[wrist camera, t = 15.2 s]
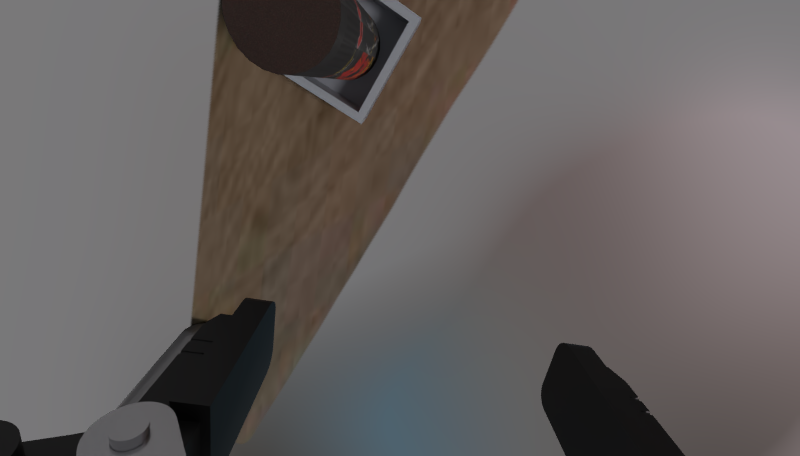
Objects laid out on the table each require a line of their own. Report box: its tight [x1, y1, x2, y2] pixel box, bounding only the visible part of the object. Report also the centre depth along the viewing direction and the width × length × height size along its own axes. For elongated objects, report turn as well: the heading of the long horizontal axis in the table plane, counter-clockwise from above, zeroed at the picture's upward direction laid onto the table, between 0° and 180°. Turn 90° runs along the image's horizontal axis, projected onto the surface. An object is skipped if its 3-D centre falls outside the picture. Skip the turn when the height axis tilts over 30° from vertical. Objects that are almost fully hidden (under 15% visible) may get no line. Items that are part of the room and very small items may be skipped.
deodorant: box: [221, 0, 380, 80], centre depth 25 cm, size 6×6×15 cm
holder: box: [285, 0, 421, 124], centre depth 31 cm, size 9×9×4 cm
